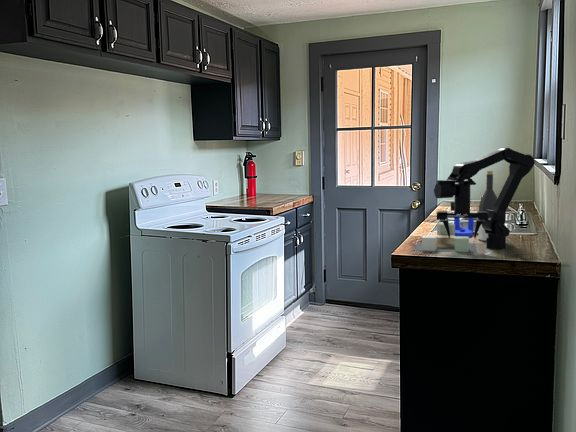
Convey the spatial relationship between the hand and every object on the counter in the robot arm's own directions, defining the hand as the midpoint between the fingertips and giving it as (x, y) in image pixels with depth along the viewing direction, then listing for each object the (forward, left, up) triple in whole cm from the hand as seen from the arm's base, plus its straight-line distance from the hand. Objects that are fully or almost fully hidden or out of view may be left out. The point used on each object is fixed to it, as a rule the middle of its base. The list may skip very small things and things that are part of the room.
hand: (462, 237), depth 208 cm
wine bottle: (-11, -24, -6) cm, 27 cm away
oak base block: (+6, -8, -5) cm, 11 cm away
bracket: (-1, -45, -6) cm, 45 cm away
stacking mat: (+6, -6, -6) cm, 10 cm away
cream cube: (+12, 0, -5) cm, 13 cm away
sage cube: (0, 0, -5) cm, 5 cm away
